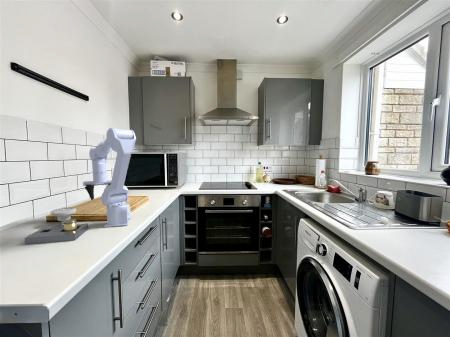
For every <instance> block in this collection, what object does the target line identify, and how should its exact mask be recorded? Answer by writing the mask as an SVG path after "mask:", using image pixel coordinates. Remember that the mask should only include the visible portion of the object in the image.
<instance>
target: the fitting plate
mask: <svg viewBox="0 0 450 337" xmlns="http://www.w3.org/2000/svg"><path fill="white" fill-rule="evenodd" d="M89 227H90V226H89V223H88V222H85V223H84V222H83V223H77V230H76V231H67V232H64V224H58V225H45V226H44V227H42V228H40V229H37V230H36V231H34V232H33V233H30V234H29V235H27V236H25V237H24V245H25V246H26V245H34V244H35V245H36V244H38V245H39V244H48V243H49V244H50V243H58V242H70V241H77V239H78V238H80V237H81V236H82V235H83V234H85V232H87V231H88V230H89V229H90V228H89Z"/></svg>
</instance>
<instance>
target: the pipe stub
mask: <svg viewBox="0 0 450 337" xmlns="http://www.w3.org/2000/svg"><path fill="white" fill-rule="evenodd" d="M77 224H78V223H77V219H76V218H70V219H69V220H66V221H64V224H63V225H64V232H67V231H76V230H77Z"/></svg>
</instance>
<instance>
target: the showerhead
mask: <svg viewBox="0 0 450 337" xmlns="http://www.w3.org/2000/svg"><path fill="white" fill-rule="evenodd" d="M76 212H77V208H76V207H73V206H72V207H71V206H70V207H69V206H68V207H61V208H56V209H54V210H51V211H50V216H51V217H57V221H58V222H61V225H64V221H66V220H69V219H72V218H71V217H72V216H71V215H73V214H75V213H76Z"/></svg>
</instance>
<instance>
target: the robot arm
mask: <svg viewBox="0 0 450 337" xmlns="http://www.w3.org/2000/svg"><path fill="white" fill-rule="evenodd" d="M136 141H137V137H136V134H135V131H134V130H133V129H121V128H112V127H110V128H108V129H107V131H106V138H105V140H101V141H100V143H99V144H98V145H97V146H95V147H91V148H90V150H89V159H90V160H91V164H92V168H91V169H92V180H90V181H89V180H87V181H83V182H82V187H84V189H85V190H86V192H87V194H88V196H89V198H90V201H94V200H95V194H94V193H95V186H105V187H104V189H103V192H102V193H101V196H100V197H101V203H102V205H104V206H106V218H107V220H106V221H107V223H106V224H104V225H103V226H104V228H105V227H106V228H109V227H123V226H128V225H129V223H130V222H131V220H132V219H131V205H130V204H129V203H127V202H128V200H129V189H128V187H127V186H126V185H125V181H126V176H127V174H128V172H127V171H128V169H129V164H130V160H131V156H132V151H134V149H135V145H136ZM112 151H113V152H115V153H116V156H115V161H114V168H113V172H112V177H111V180H109V179H107V169H106V168H107V162H108V161H107V159H108V154H110V153H111V152H112Z"/></svg>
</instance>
